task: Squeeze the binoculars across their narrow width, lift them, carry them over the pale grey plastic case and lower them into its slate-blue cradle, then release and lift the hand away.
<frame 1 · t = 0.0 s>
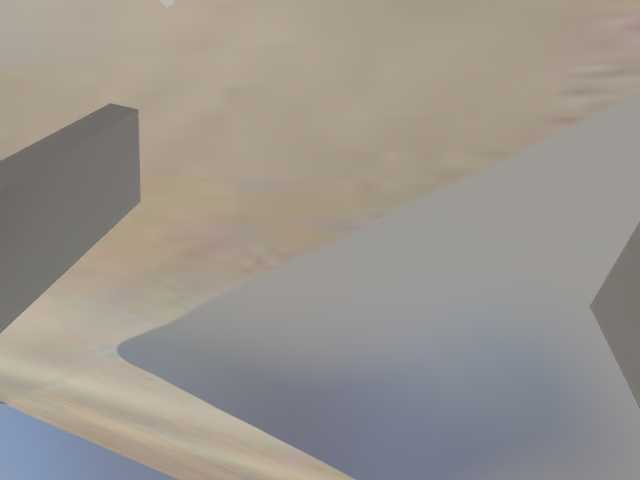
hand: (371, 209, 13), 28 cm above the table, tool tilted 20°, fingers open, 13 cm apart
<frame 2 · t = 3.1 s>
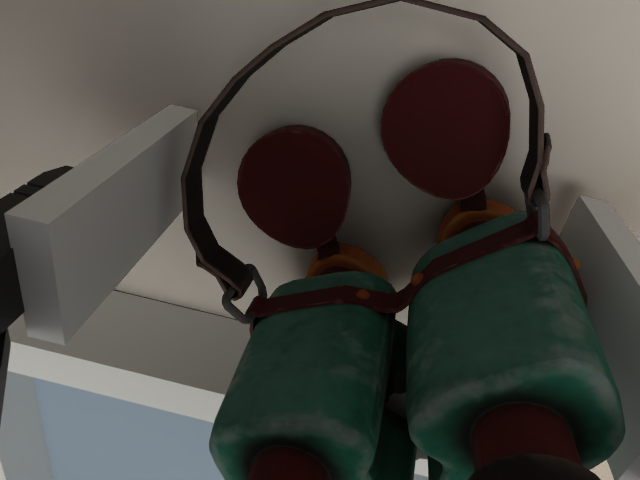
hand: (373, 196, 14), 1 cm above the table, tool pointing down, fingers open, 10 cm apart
binoculars: (375, 172, 15), on the table, touching gripper
case: (218, 447, 23), on the table
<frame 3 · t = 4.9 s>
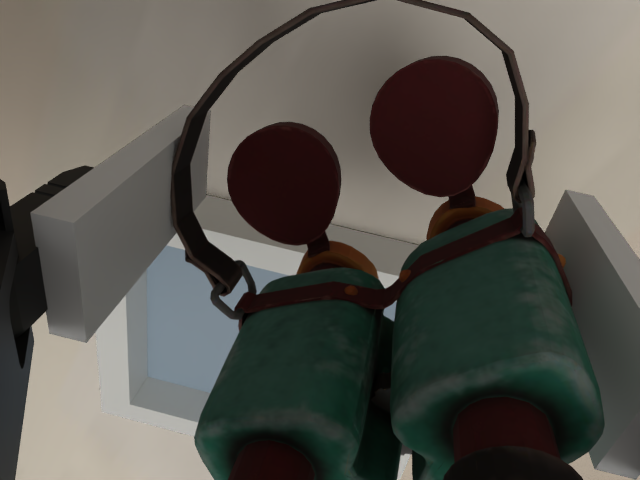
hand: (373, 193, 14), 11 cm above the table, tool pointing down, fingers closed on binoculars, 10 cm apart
binoculars: (365, 169, 15), point 9 cm above the table, touching gripper
case: (274, 324, 32), on the table
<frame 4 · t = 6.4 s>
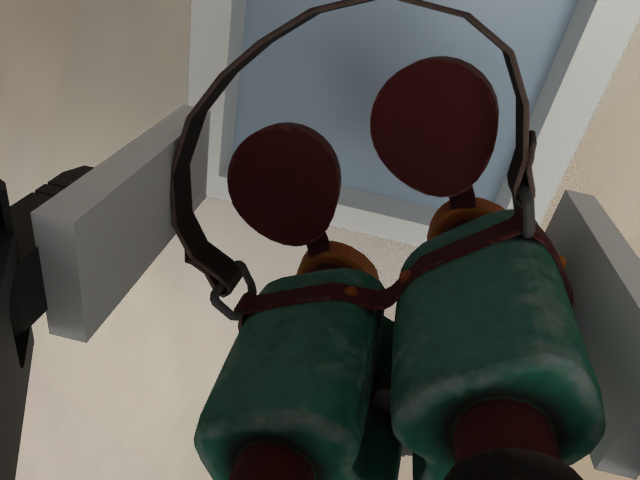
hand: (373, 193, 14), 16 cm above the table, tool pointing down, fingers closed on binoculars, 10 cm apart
binoculars: (365, 170, 15), point 14 cm above the table, touching gripper
case: (385, 79, 28), on the table
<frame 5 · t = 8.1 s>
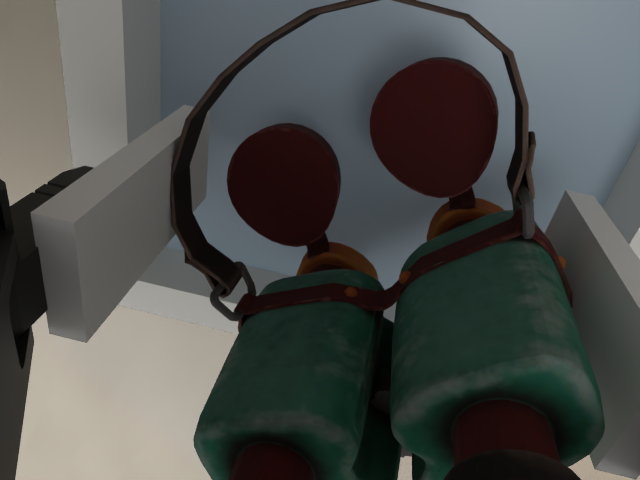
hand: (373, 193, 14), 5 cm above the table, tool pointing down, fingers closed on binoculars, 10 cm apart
binoculars: (365, 170, 15), point 3 cm above the table, touching gripper
case: (382, 133, 18), on the table
when the fingers open (4 cm above the table, at t = 9.3 s): binoculars drops 1 cm, resting on case.
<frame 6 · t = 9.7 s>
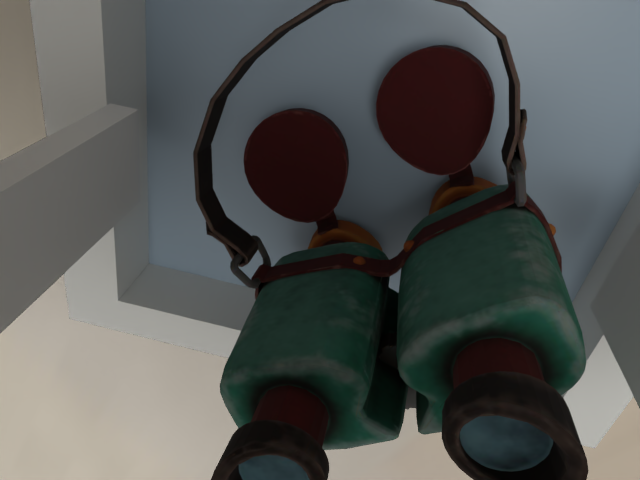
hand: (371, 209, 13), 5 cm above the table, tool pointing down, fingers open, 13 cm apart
binoculars: (371, 153, 17), point 1 cm above the table, touching case
case: (380, 148, 17), on the table
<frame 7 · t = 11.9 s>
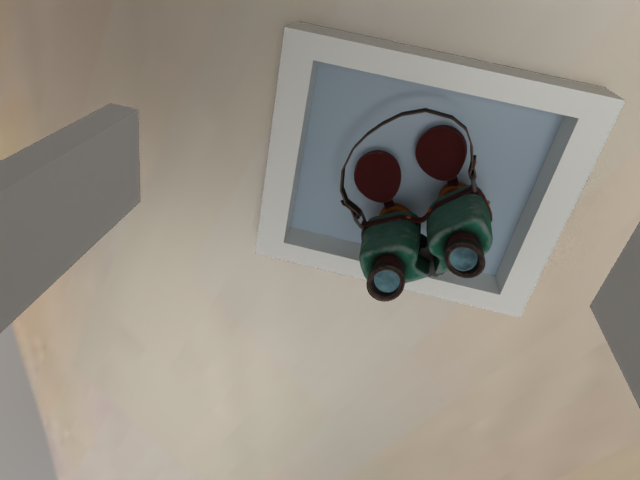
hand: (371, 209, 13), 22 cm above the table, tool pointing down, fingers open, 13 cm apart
binoculars: (410, 170, 35), point 1 cm above the table, touching case
case: (414, 168, 36), on the table
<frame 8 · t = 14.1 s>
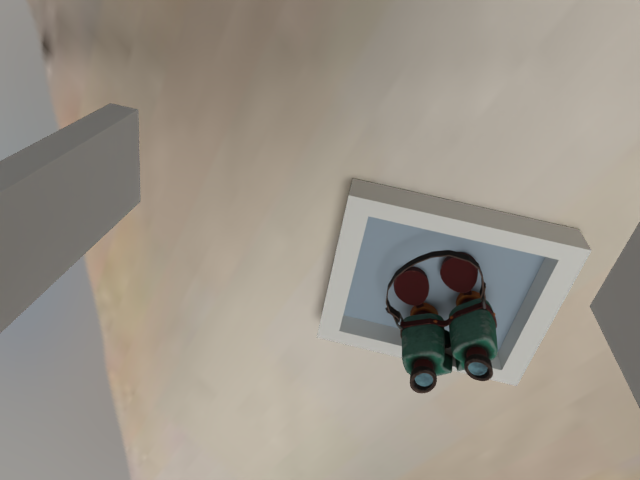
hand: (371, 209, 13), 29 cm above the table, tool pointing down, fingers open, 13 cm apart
binoculars: (435, 279, 47), point 1 cm above the table, touching case
case: (438, 276, 48), on the table
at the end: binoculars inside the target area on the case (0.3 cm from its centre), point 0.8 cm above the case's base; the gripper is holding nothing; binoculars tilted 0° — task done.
